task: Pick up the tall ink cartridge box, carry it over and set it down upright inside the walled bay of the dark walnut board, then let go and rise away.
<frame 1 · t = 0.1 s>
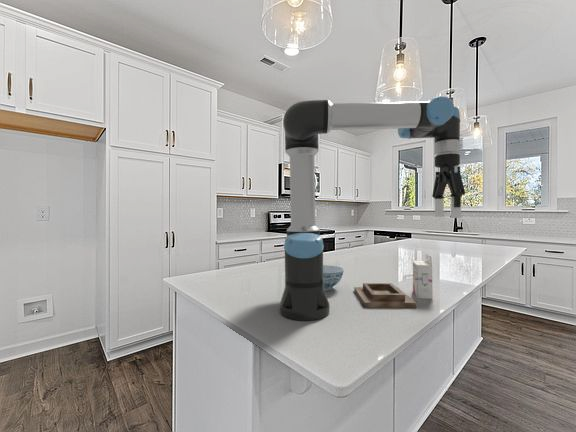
hand: (446, 217, 99), 28 cm above the countertop, fingers open, 13 cm apart
walnut bay board: (382, 298, 100), on the countertop
ink cartridge box: (422, 295, 103), on the countertop
chinaware: (324, 288, 114), on the countertop
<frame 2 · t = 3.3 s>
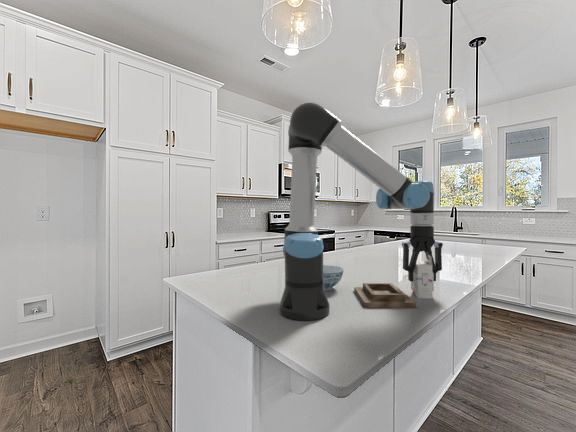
hand: (422, 290, 103), 2 cm above the countertop, fingers closed on ink cartridge box, 5 cm apart
ink cartridge box: (422, 295, 103), on the countertop, touching gripper
everything else where it was.
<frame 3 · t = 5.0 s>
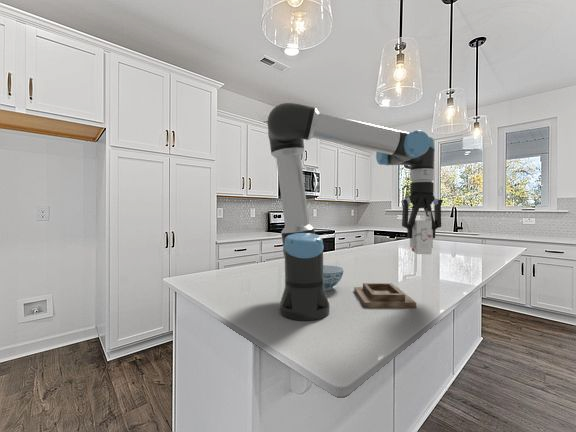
hand: (421, 247, 103), 17 cm above the countertop, fingers closed on ink cartridge box, 5 cm apart
ink cartridge box: (420, 253, 103), point 15 cm above the countertop, touching gripper
everything else where it was.
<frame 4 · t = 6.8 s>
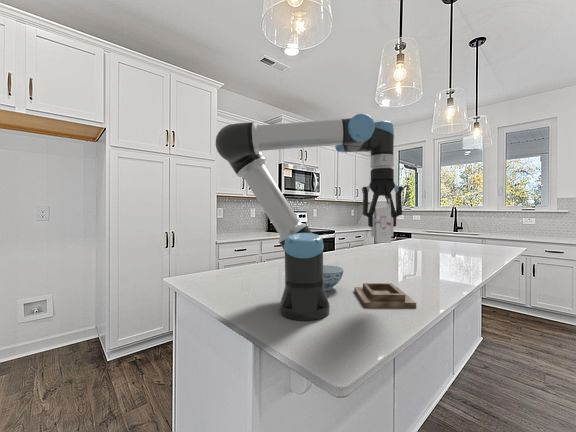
hand: (382, 236, 99), 22 cm above the countertop, fingers closed on ink cartridge box, 5 cm apart
ink cartridge box: (382, 242, 99), point 20 cm above the countertop, touching gripper
everything else where it was.
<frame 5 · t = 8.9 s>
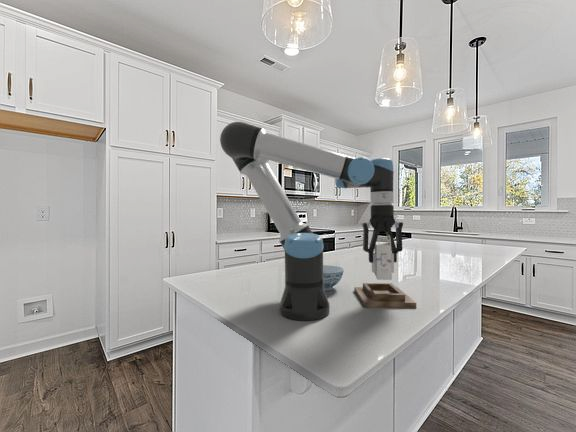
hand: (382, 271, 100), 9 cm above the countertop, fingers closed on ink cartridge box, 5 cm apart
ink cartridge box: (382, 277, 100), point 7 cm above the countertop, touching gripper
everything else where it was.
when the fingers open (5 cm above the countertop, at t = 10.5 s): ink cartridge box drops 2 cm, resting on walnut bay board.
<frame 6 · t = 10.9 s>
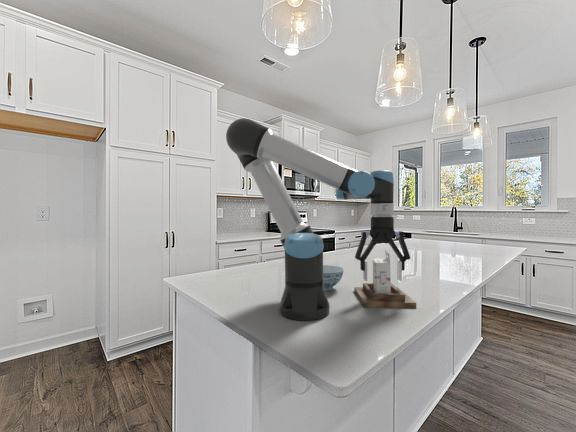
hand: (382, 279, 100), 6 cm above the countertop, fingers open, 11 cm apart
ink cartridge box: (381, 294, 100), point 1 cm above the countertop, touching walnut bay board
everything else where it was.
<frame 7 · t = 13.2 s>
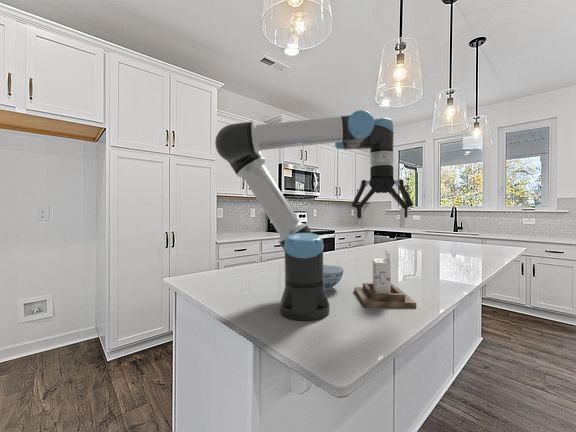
hand: (381, 227, 99), 24 cm above the countertop, fingers open, 13 cm apart
nothing on the countertop moved.
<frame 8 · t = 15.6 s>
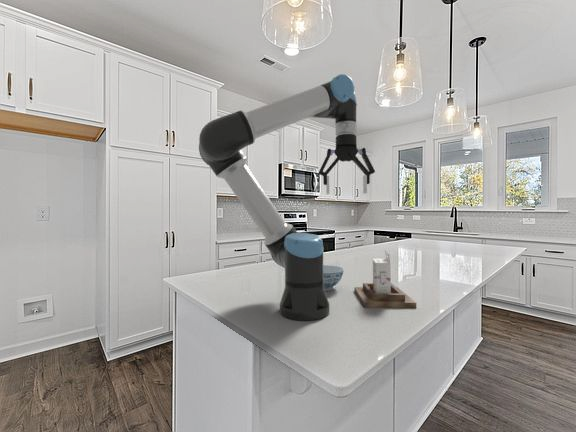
hand: (346, 193, 106), 37 cm above the countertop, fingers open, 13 cm apart
nothing on the countertop moved.
at the end: ink cartridge box 0.4 cm off-centre on the walnut bay board, point 1.3 cm above the walnut bay board's base; ink cartridge box tilted 0°; the gripper is holding nothing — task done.
